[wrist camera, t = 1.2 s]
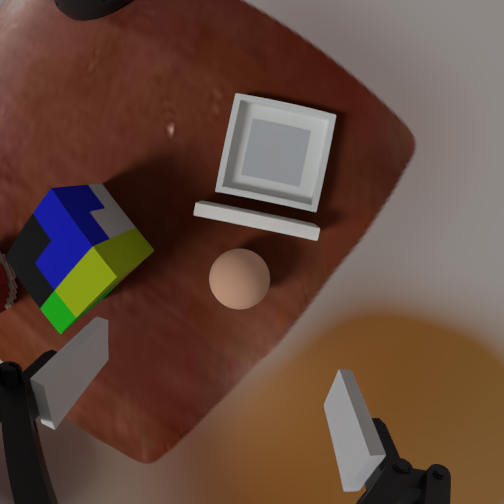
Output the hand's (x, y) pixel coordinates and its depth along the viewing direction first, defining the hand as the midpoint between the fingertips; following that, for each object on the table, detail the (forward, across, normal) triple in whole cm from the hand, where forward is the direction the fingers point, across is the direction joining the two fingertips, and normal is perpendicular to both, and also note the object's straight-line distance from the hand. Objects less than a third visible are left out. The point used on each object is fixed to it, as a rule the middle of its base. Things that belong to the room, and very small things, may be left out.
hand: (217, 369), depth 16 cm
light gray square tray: (+18, +1, +13) cm, 23 cm away
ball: (+18, 0, 0) cm, 19 cm away
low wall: (+18, +1, +6) cm, 20 cm away
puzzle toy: (+19, -17, 0) cm, 25 cm away
